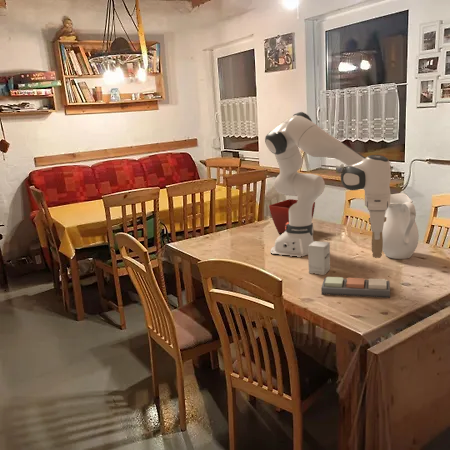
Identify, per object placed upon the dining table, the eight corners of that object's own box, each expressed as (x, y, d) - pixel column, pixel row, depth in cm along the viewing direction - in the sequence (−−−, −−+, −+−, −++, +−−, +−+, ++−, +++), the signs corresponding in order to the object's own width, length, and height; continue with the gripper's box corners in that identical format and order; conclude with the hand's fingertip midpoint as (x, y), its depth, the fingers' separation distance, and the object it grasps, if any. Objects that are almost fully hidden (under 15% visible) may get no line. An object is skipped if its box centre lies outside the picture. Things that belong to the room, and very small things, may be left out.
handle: (365, 256, 173) (366, 218, 169) (379, 253, 176) (379, 215, 172) (374, 260, 169) (375, 220, 165) (388, 257, 171) (389, 217, 167)
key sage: (325, 288, 178) (325, 282, 178) (326, 281, 184) (326, 276, 184) (342, 288, 176) (342, 283, 176) (343, 282, 182) (343, 277, 182)
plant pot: (269, 233, 265) (267, 205, 260) (290, 226, 277) (289, 198, 273) (295, 239, 251) (294, 208, 247) (316, 230, 263) (316, 201, 259)
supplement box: (324, 275, 196) (324, 247, 193) (308, 273, 200) (307, 245, 197) (330, 269, 202) (330, 242, 199) (314, 267, 206) (313, 240, 203)
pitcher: (374, 250, 222) (374, 194, 215) (410, 248, 221) (411, 191, 214) (390, 268, 198) (391, 204, 192) (430, 265, 198) (432, 202, 191)
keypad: (321, 294, 177) (321, 288, 177) (324, 284, 187) (324, 278, 186) (389, 297, 170) (390, 291, 169) (389, 287, 179) (389, 280, 178)
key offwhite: (368, 290, 173) (368, 284, 173) (368, 283, 179) (368, 278, 179) (386, 291, 171) (386, 285, 171) (386, 284, 177) (386, 279, 177)
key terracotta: (346, 289, 176) (346, 283, 175) (347, 282, 182) (347, 277, 181) (364, 289, 174) (363, 284, 173) (364, 283, 180) (364, 278, 179)
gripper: (369, 194, 177) (368, 229, 181) (367, 206, 159) (367, 245, 162) (386, 194, 175) (385, 229, 179) (387, 206, 157) (386, 245, 160)
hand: (377, 237), depth 170 cm, fingers closed on handle, 4 cm apart
